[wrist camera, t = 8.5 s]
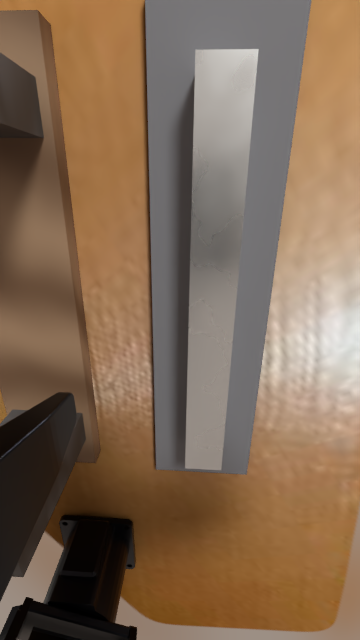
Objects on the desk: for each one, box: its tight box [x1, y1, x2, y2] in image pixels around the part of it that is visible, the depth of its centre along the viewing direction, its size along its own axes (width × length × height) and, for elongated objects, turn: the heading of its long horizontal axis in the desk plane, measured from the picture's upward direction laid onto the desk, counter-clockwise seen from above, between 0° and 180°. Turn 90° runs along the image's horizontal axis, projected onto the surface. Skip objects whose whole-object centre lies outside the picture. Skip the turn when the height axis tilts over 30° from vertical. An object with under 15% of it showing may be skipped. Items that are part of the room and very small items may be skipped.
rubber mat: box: [145, 0, 311, 475], centre depth 18 cm, size 28×7×1 cm, turn 179°
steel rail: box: [185, 49, 259, 470], centre depth 17 cm, size 22×2×2 cm, turn 179°
